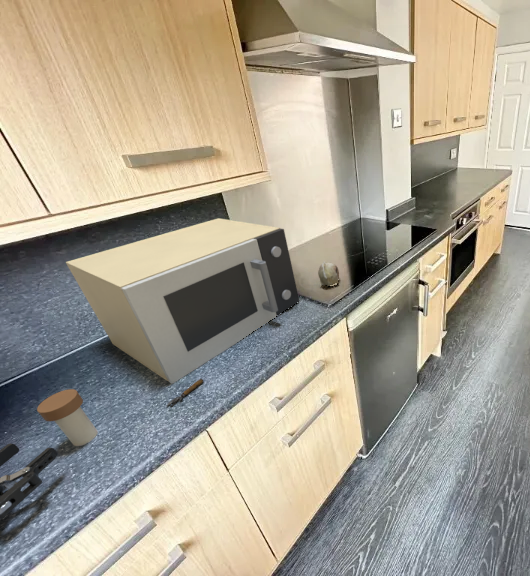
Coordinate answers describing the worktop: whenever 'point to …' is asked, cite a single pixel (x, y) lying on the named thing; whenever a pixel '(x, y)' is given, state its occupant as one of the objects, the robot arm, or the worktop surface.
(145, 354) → the microwave
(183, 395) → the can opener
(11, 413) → the worktop surface
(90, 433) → the mushroom
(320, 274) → the garlic bulb
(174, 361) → the microwave door
